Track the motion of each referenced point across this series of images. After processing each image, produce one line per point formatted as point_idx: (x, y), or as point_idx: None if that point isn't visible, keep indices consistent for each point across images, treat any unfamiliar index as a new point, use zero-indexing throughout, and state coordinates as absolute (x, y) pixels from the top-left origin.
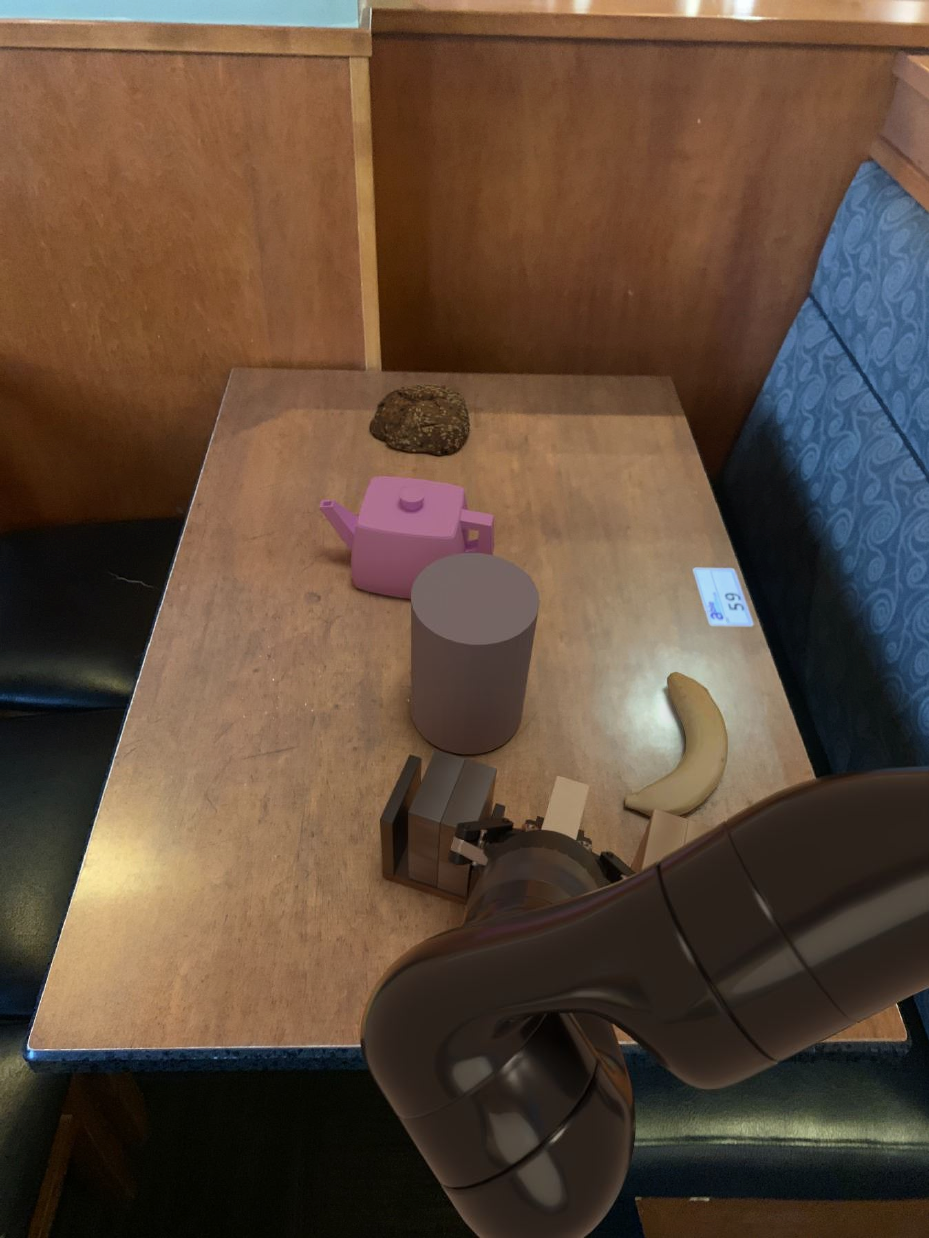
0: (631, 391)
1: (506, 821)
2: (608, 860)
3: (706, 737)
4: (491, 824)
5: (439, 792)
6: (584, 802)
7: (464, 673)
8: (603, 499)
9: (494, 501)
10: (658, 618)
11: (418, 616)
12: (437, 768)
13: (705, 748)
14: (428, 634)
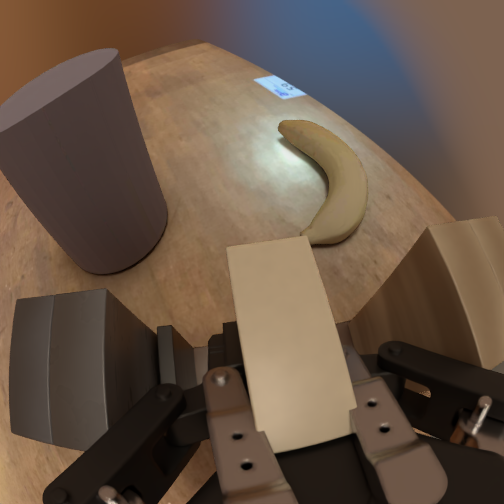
0: (181, 43)
1: (164, 398)
2: (413, 371)
3: (340, 153)
4: (128, 439)
5: (32, 381)
6: (319, 280)
7: (46, 171)
8: (182, 72)
9: None
10: (247, 104)
11: None
12: (22, 333)
13: (346, 161)
14: None
